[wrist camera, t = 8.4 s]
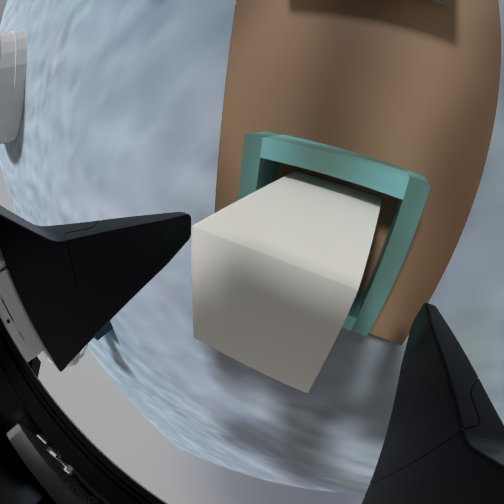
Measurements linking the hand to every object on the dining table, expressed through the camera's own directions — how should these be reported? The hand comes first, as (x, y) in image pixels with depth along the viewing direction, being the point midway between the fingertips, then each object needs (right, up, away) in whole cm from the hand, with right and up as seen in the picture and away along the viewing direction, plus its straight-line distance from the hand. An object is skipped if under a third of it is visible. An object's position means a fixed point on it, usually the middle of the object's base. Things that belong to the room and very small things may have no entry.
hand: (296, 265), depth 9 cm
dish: (-44, +30, +18) cm, 56 cm away
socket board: (+3, +9, 0) cm, 9 cm away
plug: (+2, +2, +3) cm, 4 cm away
